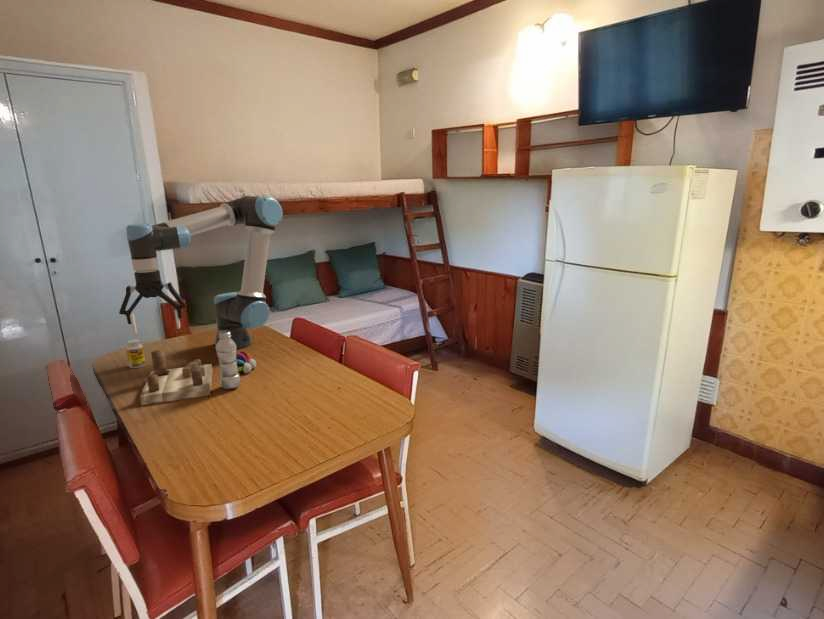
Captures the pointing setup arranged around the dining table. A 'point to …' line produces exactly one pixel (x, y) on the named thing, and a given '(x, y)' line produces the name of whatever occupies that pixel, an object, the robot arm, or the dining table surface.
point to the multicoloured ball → (245, 362)
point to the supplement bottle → (135, 354)
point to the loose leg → (159, 363)
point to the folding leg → (191, 367)
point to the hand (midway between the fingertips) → (157, 330)
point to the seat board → (177, 385)
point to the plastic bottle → (227, 361)
